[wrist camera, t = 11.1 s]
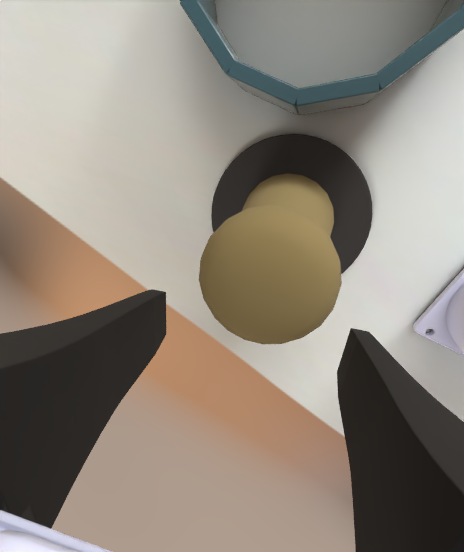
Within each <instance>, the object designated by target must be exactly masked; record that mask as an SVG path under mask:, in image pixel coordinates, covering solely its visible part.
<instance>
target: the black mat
mask: <svg viewBox="0 0 464 552" xmlns="http://www.w3.org/2000/svg"><path fill="white" fill-rule="evenodd" d="M286 173H290V174H297V175H303V176H305V177H307V178H309V179H311V180H313V181H315V182H317V183H318V184H319V185H320V186H321V187H322V189H323V190H324V191H325V192H326V193H327V194H328V197H329V199H330V201H331V204H332V206H333V212H334V225H333V229H332V232H331V236H330V238H331V240H332V243H333V245H334V247H335V249H336V252H337V254H338V256H339V259H340V266H341V274H342V273H343V272H344V271H345V270H346V269H347V268H348V267H349V266H350V265H351V264H352V263H353V262H354V261H355V259H356V258H357V257H358V255H359V254H360V252H361V250H362V249H363V247H364V245H365V242H366V240H367V238H368V235H369V231H370V227H371V221H372V201H371V195H370V191H369V188H368V185H367V182H366V180H365V178H364V176H363V174H362V172H361V170H360V169H359V167H358V166H357V165H356V163H355V162H354V161H353V160H352V159H351V158H350V157H349V156H348V155H347V154H346V153H345V152H344V151H342V150H341V149H340V148H338V147H337V146H335V145H333V144H331V143H330V142H328V141H325V140H322V139H320V138H317V137H313V136H308V135H299V134H289V135H280V136H275V137H271V138H268V139H265V140H263V141H260V142H258V143H256V144H254V145H252V146H251V147H249V148H248V149H246V150H245V151H244V152H242V153H241V154H240V155H239V156H238V157H237V158H236V159H235V160H233V162H232V163H231V164H230V165H229V167H228V168H227V169H226V170H225V172H224V174H223V175H222V177H221V179H220V181H219V183H218V186H217V188H216V191H215V194H214V198H213V204H212V227H213V231H214V232H215V231H216V230H217V229H218V228H219V227H220V226H221V225H222V224H223V223H224V222H225V221H226V220H227V219H228V218H230V217H232V216H234V215H236V214H238V213H240V212H242V209H243V206H244V204H245V202H246V200H247V198H248V196H249V194H250V193H251V192H252V191H253V190H254V189H255V188H256V186H257V185H258V184H259V183H261V182H263V181H265V180H266V179H268V178H270V177H272V176H275V175H281V174H286Z"/></svg>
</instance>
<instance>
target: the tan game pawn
mask: <svg viewBox="0 0 464 552" xmlns="http://www.w3.org/2000/svg"><path fill="white" fill-rule="evenodd" d="M333 225H334V212H333V206H332V204H331V201H330V199H329V197H328V194H327V193H326V192H325V191H324V190H323V189H322V187H321V186H320V185H319V184H318V183H317V182H315V181H313V180H311V179H309V178H307V177H305V176H303V175H297V174H290V173H286V174H281V175H275V176H272V177H270V178H268V179H266V180H265V181H263V182H261V183H259V184H258V185H257V186H256V188H255V189H254V190H253V191H252V192H251V193H250V194H249V196H248V198H247V200H246V202H245V204H244V206H243V209H242V212H240V213H238V214H236V215H234V216H232V217H230V218H228V219H227V220H226V221H225V222H224V223H223V224H222V225H221V226H220V227H219V228H218V229H217V230H216V231H215V232H214V233H213V234H212V235H211V236H210V238H209V240H208V243H207V245H206V247H205V250H204V252H203V254H202V257H201V261H200V274H199V282H200V286H201V290H202V294H203V298H204V300H205V302H206V304H207V305H208V307H209V309H210V310H211V312H212V314H213V315H214V317H215V319H217V320H218V321H219V322H220V323H221V324H222V325H223V326H224V327H225V328H226V329H227V330H228V331H230V332H232V333H233V334H235V335H237V336H239V337H241V338H243V339H244V340H248V341H252V342H256V343H260V344H282V343H286V342H289V341H293V340H296V339H299V338H302V337H304V336H306V335H307V334H309V333H310V332H312V331H313V330H315V329H316V328H318V327H319V326H321V324H322V323H323V322H324V320H325V319H326V318H327V317H328V315H329V314H330V313H331V311H332V310H333V308H334V305H335V303H336V300H337V296H338V293H339V290H340V287H341V284H342V283H341V266H340V259H339V256H338V254H337V252H336V249H335V247H334V245H333V243H332V240H331V238H330V236H331V232H332V229H333Z"/></svg>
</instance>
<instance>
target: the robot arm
mask: <svg viewBox="0 0 464 552" xmlns="http://www.w3.org/2000/svg"><path fill="white" fill-rule="evenodd" d="M413 328H414V330H415V332H416V333H418V334H420V335H422V336H424V337H426V338H428V339H430V340H432V341H434V342H436V343H438V344H440V345H442V346H444V347H446V348H448V349H450V350H452V351H454V352H457V353H459V354H461V355H463V356H464V269H463V270H462V271H461V272H460V273H459V274H458V275H457V276H456V277H455V279H454V280H453V281H452V282H451V283H450V284H449V285H448V286H447V287H446V289H445V290H444V291H443V292H442V293H441V294H440V295H439V296H438V297H437V299H436V300H435V301H434V302H433V303H432V304H431V305H430V306H429V307H428V309H427V310H426V311H425V312H424V313H423V314H422V315H421V316H420V317H419V319H418V320H417V321H416V322H415V323H414V325H413ZM428 329H432V331H430V332H426V330H428ZM165 335H166V292H163V291H157V290H148V291H145V292H142V293H139V294H137V295H134V296H132V297H129V298H126V299H124V300H122V301H119V302H116V303H113V304H111V305H108V306H106V307H103V308H100V309H97V310H94V311H91V312H89V313H86V314H83V315H80V316H77V317H73V318H70V319H67V320H63V321H59V322H55V323H52V324H48V325H44V326H38V327H34V328H29V329H24V330H19V331H14V332H9V333H2V334H0V552H112V551H109V550H107V549H104V548H101V547H99V546H96V545H93V544H91V543H88V542H85V541H83V540H80V539H77V538H75V537H72V536H69V535H66V534H64V533H61V532H58V531H56V530H53V529H51V528H52V525H53V524H54V521H55V520H56V518H57V516H58V514H59V512H60V510H61V508H62V506H63V503H64V502H65V500H66V497H67V495H68V493H69V491H70V489H71V487H72V486H73V483H74V482H75V480H76V478H77V476H78V474H79V472H80V470H81V469H82V467H83V465H84V463H85V461H86V459H87V457H88V456H89V454H90V452H91V450H92V448H93V447H94V445H95V443H96V441H97V440H98V438H99V436H100V434H101V432H102V431H103V429H104V427H105V426H106V424H107V422H108V421H109V419H110V417H111V415H112V414H113V412H114V411H115V409H116V407H117V406H118V404H119V403H120V402H121V400H122V399H123V397H124V396H125V395H126V393H127V392H128V390H129V389H130V388H131V386H132V385H133V384H134V382H135V381H136V380H137V378H138V377H139V375H140V374H141V373H142V372H143V370H144V369H145V368H146V366H147V365H148V363H149V362H150V361H151V359H152V358H153V356H154V355H155V354H156V352H157V350H158V348H159V347H160V345H161V343H162V341H163V339H164V337H165ZM337 379H338V399H339V405H340V411H341V417H342V423H343V428H344V434H345V440H346V445H347V451H348V457H349V463H350V471H351V481H352V495H353V509H354V527H355V544H356V552H464V422H463V421H461V420H460V419H459V418H458V417H457V416H455V415H454V414H453V413H452V412H451V411H449V410H448V409H447V408H446V407H444V406H443V405H442V404H441V403H440V402H439V401H437V400H436V399H435V398H434V397H433V396H432V395H431V394H430V393H429V392H427V391H426V390H425V389H424V388H423V387H422V386H421V385H420V384H419V383H418V382H417V381H416V380H415V379H414V378H413V377H412V376H411V375H410V374H409V373H408V372H407V371H406V370H405V369H404V368H403V367H402V366H401V365H400V364H399V363H398V362H397V361H396V360H395V359H394V358H393V357H392V356H391V355H390V354H389V353H388V351H387V350H386V349H385V348H384V347H383V346H382V345H381V344H380V343H379V342H378V341H377V340H376V339H375V337H374V336H373V335H372V334H371V333H369V332H367V331H362V330H357V329H352V328H351V330H350V333H349V336H348V339H347V342H346V345H345V349H344V352H343V355H342V358H341V361H340V365H339V368H338V371H337Z"/></svg>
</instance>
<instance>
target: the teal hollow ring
mask: <svg viewBox="0 0 464 552" xmlns="http://www.w3.org/2000/svg"><path fill="white" fill-rule="evenodd" d="M180 1H181V2H180V4H181V6H182V7H183V9H184V10H185V12H186V14H187V15H188V17H189V18H190V20H191V21H192V23H193V24H194V26H195V27H196V29H197V31H198V32H199V34H200V35H201V37H202V38H203V40H204V41H205V43H206V44H207V46H208V48H209V49H210V51H211V52H212V54H213V55H214V57H215V58H216V60H217V61H218V63H219V65H220V66H221V68H222V69H223V71H224V72H225V73H226V74H227V75H228V76H229V77H230V78H231V79H232V80H233V81H235V82H236V83H237V84H238V85H239V86H240V87H241V88H242V89H244V90H245V91H246V92H249V93H251V94H253V95H255V96H257V97H260V98H262V99H264V100H266V101H268V102H271V103H273V104H275V105H277V106H279V107H281V108H284V109H286V110H288V111H290V112H292V113H295V114H298V113H299V115H303V114H309V113H315V112H321V111H327V110H333V109H339V108H345V107H351V106H357V105H363V104H364V103H365V102H366V103H367V102H369V101H370V100H371V99H373V98H374V97H375V96H376V95H378V94H379V93H380V92H382V91H383V90H384V89H386V88H387V87H388V86H390V85H391V84H392V83H394V82H395V81H396V80H398V79H399V78H400V77H402V76H403V75H404V74H406V73H407V72H408V71H410V70H411V69H412V68H414V67H415V66H416V65H418V64H419V63H420V62H422V61H423V60H424V59H426V58H427V57H428V56H430V55H431V54H432V53H433V52H435V51H436V50H437V49H439V48H440V47H441V46H442V45H444V44H445V43H446V42H447V41H449V40H450V39H451V38H453V37H454V36H455V35H456V34H458V33H459V32H460V31H462V30H463V29H464V0H448V1H447V2H446V4H445V6H444V8H443V9H442V11H441V13H440V15H439V16H438V18H437V20H436V22H435V23H434V25H433V27H432V29H431V30H430V32H429V33H427V34H426V35H425V36H424V37H422V38H421V39H420V40H418V41H417V42H416V43H415V44H413V45H412V46H411V47H410V48H408V49H407V50H406V51H405V52H403V53H402V54H401V55H399V56H398V57H397V58H396V59H394V60H393V61H392V62H391V63H389V64H388V65H387V66H385V67H384V68H383V69H382V70H380V71H379V72H378V73H377V74H372V75H367V76H362V77H356V78H351V79H346V80H341V81H335V82H330V83H325V84H320V85H314V86H309V87H304V88H297V87H295V86H292V85H290V84H288V83H286V82H283V81H281V80H279V79H277V78H275V77H272V76H270V75H268V74H266V73H264V72H261V71H259V70H257V69H255V68H253V67H250V66H248V65H246V64H244V63H242V62H240V60H239V58H238V57H237V55H236V54H235V52H234V51H233V49H232V47H231V46H230V44H229V43H228V41H227V39H226V38H225V36H224V35H223V33H222V32H221V30H220V28H219V27H218V25H217V16H216V7H215V0H180Z"/></svg>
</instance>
